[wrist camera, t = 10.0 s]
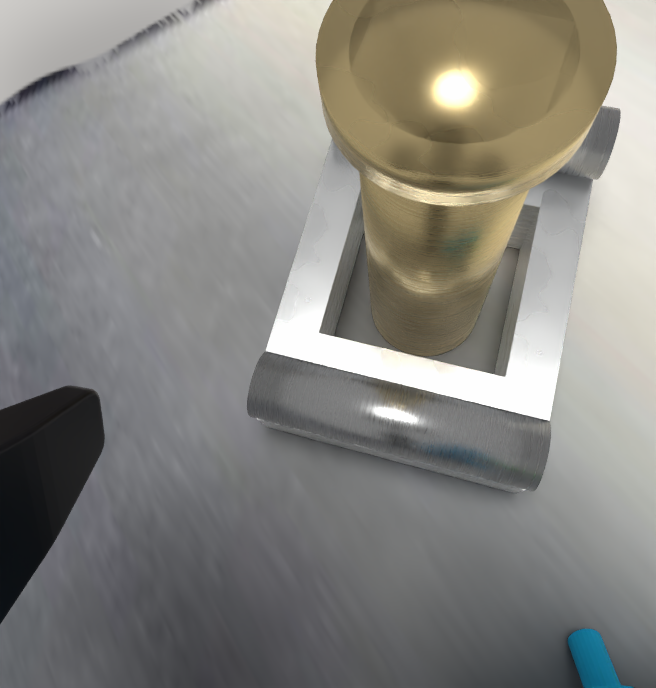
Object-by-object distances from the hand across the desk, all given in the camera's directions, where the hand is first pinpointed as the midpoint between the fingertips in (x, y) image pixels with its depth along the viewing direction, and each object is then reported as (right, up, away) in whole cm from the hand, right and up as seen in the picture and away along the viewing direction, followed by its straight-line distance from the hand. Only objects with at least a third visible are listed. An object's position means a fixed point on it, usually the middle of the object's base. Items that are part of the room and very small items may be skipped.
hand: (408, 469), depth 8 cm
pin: (+3, +3, +15) cm, 15 cm away
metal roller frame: (+3, +3, +15) cm, 16 cm away
